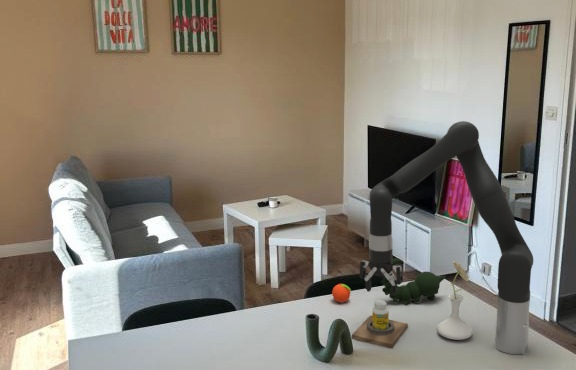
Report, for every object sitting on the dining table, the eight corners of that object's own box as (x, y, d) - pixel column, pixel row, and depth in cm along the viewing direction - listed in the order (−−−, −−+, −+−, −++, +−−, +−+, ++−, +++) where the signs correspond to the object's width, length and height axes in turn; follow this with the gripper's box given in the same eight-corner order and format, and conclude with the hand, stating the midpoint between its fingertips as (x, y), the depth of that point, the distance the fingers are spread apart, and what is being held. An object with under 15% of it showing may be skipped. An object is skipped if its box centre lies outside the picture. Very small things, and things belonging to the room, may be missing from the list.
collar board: (408, 327, 194) (408, 319, 193) (391, 348, 180) (391, 339, 180) (370, 319, 201) (370, 311, 200) (351, 338, 187) (351, 330, 187)
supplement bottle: (385, 324, 193) (385, 298, 191) (390, 331, 188) (390, 305, 186) (370, 326, 192) (370, 300, 190) (375, 333, 187) (375, 306, 185)
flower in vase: (474, 344, 181) (477, 271, 176) (437, 341, 184) (440, 269, 178) (469, 325, 194) (473, 257, 188) (435, 323, 196) (438, 255, 191)
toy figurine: (388, 312, 209) (452, 301, 212) (384, 265, 205) (449, 254, 207) (380, 302, 218) (442, 291, 221) (377, 256, 214) (439, 246, 216)
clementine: (355, 300, 216) (355, 283, 215) (348, 307, 211) (347, 289, 209) (337, 296, 221) (337, 279, 219) (329, 302, 215) (328, 285, 213)
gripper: (405, 245, 183) (405, 292, 187) (364, 240, 190) (365, 285, 194) (397, 253, 177) (397, 301, 180) (356, 247, 184) (356, 293, 187)
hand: (380, 292), depth 187 cm, fingers open, 8 cm apart
